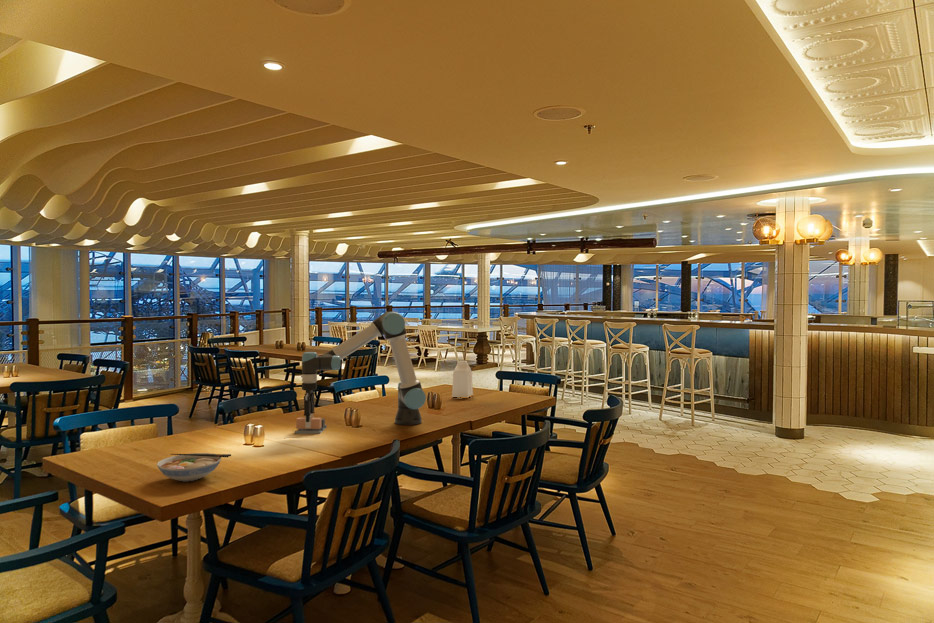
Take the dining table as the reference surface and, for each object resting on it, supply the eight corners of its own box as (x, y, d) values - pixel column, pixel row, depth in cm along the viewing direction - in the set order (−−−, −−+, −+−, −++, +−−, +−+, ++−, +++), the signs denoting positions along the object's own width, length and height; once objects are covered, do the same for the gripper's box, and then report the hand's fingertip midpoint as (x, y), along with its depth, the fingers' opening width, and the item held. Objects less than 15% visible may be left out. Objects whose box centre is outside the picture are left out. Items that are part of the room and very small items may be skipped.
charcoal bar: (324, 428, 317) (324, 418, 317) (323, 429, 313) (323, 420, 313) (302, 428, 317) (302, 418, 317) (300, 429, 313) (300, 420, 313)
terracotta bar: (321, 427, 310) (321, 417, 310) (319, 428, 306) (319, 419, 306) (298, 427, 310) (298, 417, 310) (296, 428, 306) (296, 418, 306)
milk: (451, 397, 422) (452, 361, 421) (457, 395, 433) (457, 359, 432) (468, 398, 418) (468, 362, 418) (473, 396, 429) (473, 360, 429)
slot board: (326, 428, 319) (326, 424, 319) (320, 435, 303) (320, 431, 303) (302, 428, 319) (302, 424, 319) (294, 435, 303) (294, 431, 303)
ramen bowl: (140, 486, 220) (139, 464, 220) (179, 469, 243) (179, 449, 242) (201, 490, 216) (201, 468, 216) (235, 472, 239) (235, 452, 238)
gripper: (306, 379, 316) (306, 423, 316) (297, 384, 299) (297, 430, 299) (320, 379, 316) (320, 423, 316) (312, 384, 299) (312, 430, 299)
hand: (309, 426), depth 308 cm, fingers closed on terracotta bar, 4 cm apart
